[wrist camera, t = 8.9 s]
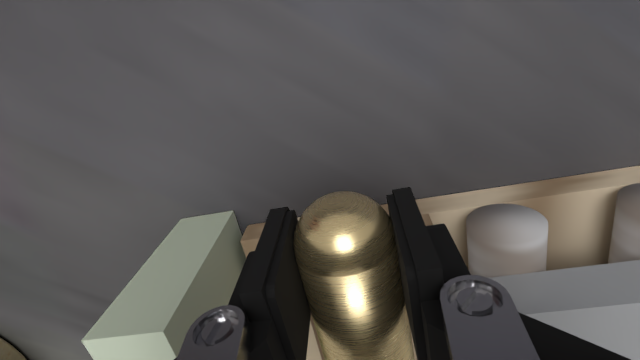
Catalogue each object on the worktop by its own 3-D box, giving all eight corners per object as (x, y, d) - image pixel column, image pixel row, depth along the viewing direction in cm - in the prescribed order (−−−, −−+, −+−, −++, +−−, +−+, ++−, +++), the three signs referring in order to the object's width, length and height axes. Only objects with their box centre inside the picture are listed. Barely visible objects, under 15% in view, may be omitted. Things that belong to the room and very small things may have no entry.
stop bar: (233, 210, 19) (163, 331, 12) (288, 367, 23) (262, 523, 16) (181, 218, 19) (81, 340, 12) (245, 371, 24) (201, 525, 17)
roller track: (843, 134, 15) (1025, 177, 11) (774, 309, 19) (891, 388, 15) (247, 225, 19) (221, 281, 15) (291, 355, 23) (280, 428, 19)
